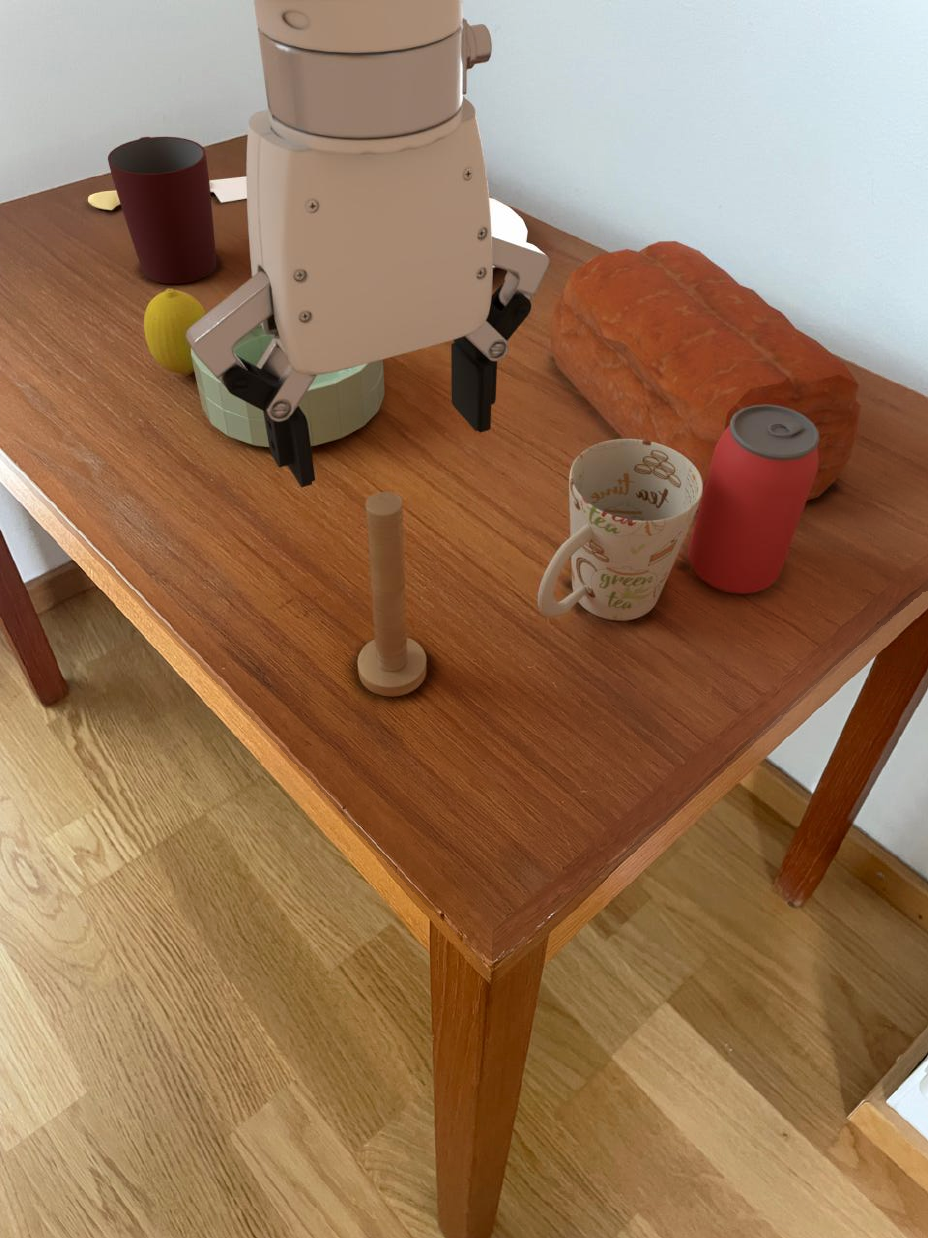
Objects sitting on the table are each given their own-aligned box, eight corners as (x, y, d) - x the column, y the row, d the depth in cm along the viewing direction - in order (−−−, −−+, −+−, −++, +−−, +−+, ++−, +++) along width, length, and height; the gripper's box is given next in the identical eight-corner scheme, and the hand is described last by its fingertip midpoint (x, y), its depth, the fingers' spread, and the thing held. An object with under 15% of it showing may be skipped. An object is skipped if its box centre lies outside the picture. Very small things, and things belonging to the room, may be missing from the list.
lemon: (213, 393, 83) (196, 307, 77) (148, 391, 83) (127, 305, 77) (224, 358, 87) (209, 274, 81) (163, 356, 87) (143, 272, 81)
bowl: (237, 476, 75) (225, 411, 71) (182, 378, 85) (168, 315, 80) (413, 426, 80) (412, 363, 76) (343, 338, 90) (338, 277, 85)
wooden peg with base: (374, 706, 60) (362, 539, 50) (347, 658, 63) (330, 490, 53) (438, 682, 62) (438, 515, 51) (408, 636, 64) (403, 469, 54)
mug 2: (698, 589, 68) (729, 477, 61) (588, 689, 62) (608, 578, 54) (603, 534, 72) (622, 422, 64) (491, 623, 65) (497, 510, 58)
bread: (675, 323, 93) (697, 214, 85) (860, 486, 76) (908, 369, 68) (531, 356, 88) (540, 244, 80) (695, 538, 72) (726, 419, 64)
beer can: (796, 588, 68) (849, 451, 59) (711, 606, 67) (753, 468, 58) (751, 528, 72) (794, 392, 64) (671, 544, 71) (704, 407, 62)
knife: (382, 177, 113) (371, 155, 115) (90, 213, 105) (85, 189, 107) (382, 187, 114) (371, 165, 116) (93, 223, 106) (87, 199, 108)
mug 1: (121, 242, 102) (94, 132, 94) (205, 228, 104) (185, 119, 96) (144, 295, 94) (117, 180, 86) (233, 278, 97) (215, 165, 89)
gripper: (513, 19, 42) (499, 365, 54) (112, 80, 36) (200, 450, 49) (609, 73, 37) (570, 436, 50) (167, 152, 32) (248, 539, 44)
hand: (386, 443), depth 49 cm, fingers open, 9 cm apart
